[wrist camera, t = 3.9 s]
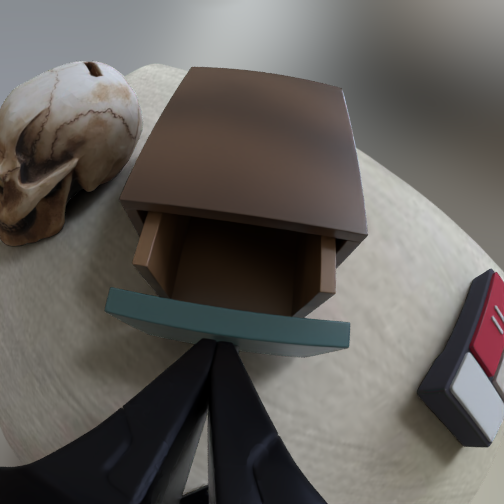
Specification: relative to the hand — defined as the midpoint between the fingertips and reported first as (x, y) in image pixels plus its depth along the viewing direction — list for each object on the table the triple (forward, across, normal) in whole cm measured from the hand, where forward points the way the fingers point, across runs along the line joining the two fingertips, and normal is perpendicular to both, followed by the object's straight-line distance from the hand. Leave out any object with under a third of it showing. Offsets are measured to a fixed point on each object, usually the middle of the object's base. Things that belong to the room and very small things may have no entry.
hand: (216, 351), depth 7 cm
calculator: (+9, -25, +8) cm, 28 cm away
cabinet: (+17, 0, -1) cm, 17 cm away
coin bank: (+18, +19, -1) cm, 26 cm away
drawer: (+12, 0, +3) cm, 13 cm away
